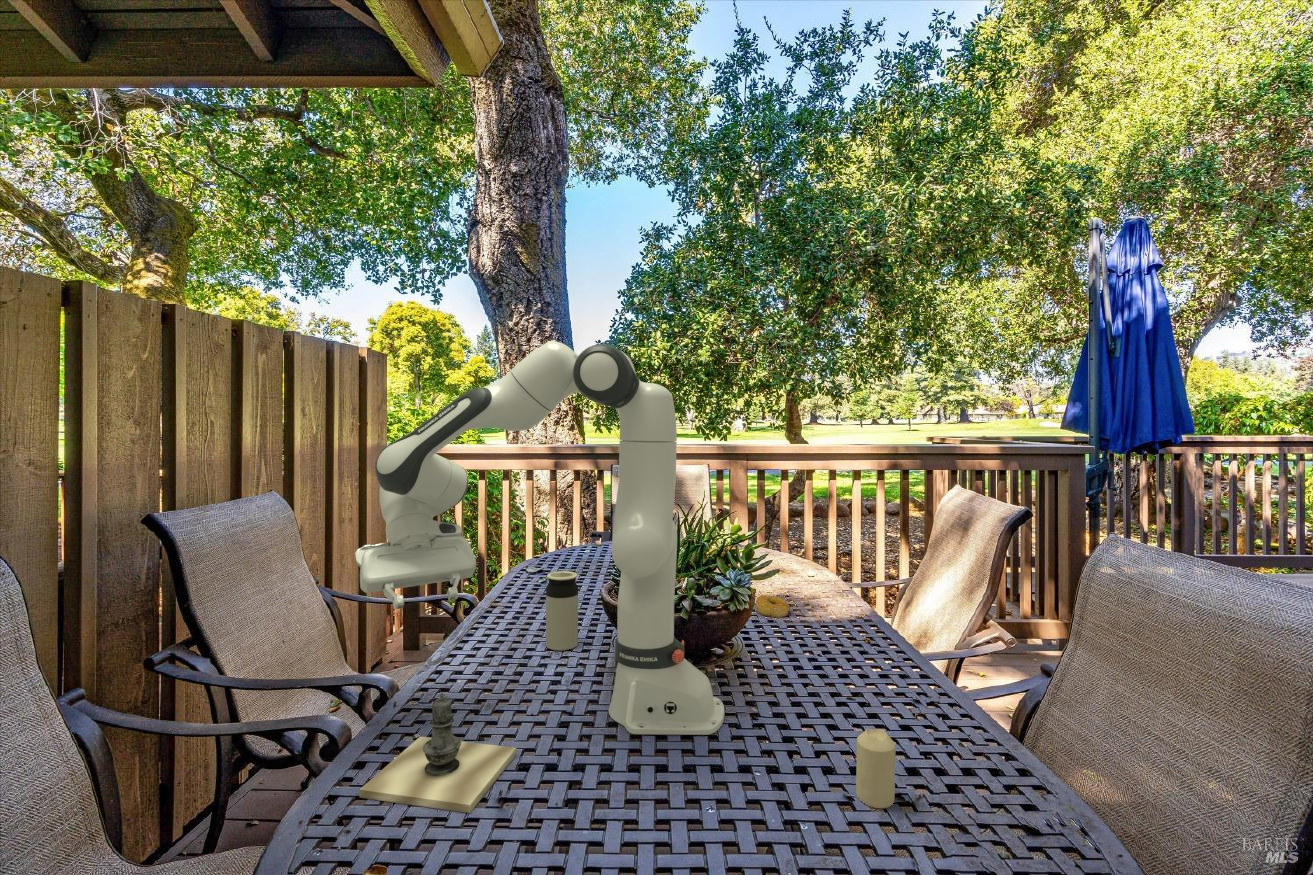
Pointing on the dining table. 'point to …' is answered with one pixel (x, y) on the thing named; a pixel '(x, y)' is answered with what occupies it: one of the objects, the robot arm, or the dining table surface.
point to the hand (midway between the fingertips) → (427, 602)
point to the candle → (875, 769)
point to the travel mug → (561, 611)
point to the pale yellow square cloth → (440, 777)
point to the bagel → (772, 606)
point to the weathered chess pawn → (441, 740)
